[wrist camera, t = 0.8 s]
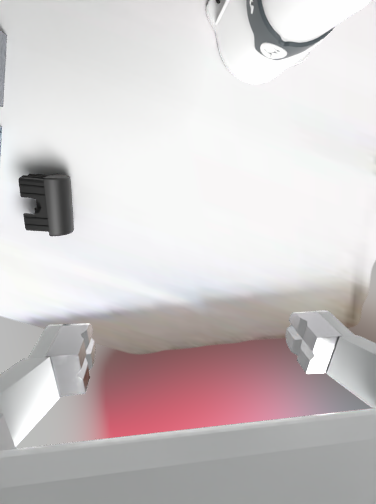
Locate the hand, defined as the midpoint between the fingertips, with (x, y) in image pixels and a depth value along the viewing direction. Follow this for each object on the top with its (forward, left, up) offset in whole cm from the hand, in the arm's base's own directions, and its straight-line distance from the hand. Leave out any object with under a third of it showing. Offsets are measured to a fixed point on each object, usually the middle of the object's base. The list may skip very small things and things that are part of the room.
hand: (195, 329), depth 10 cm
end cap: (+9, -18, -43) cm, 47 cm away
